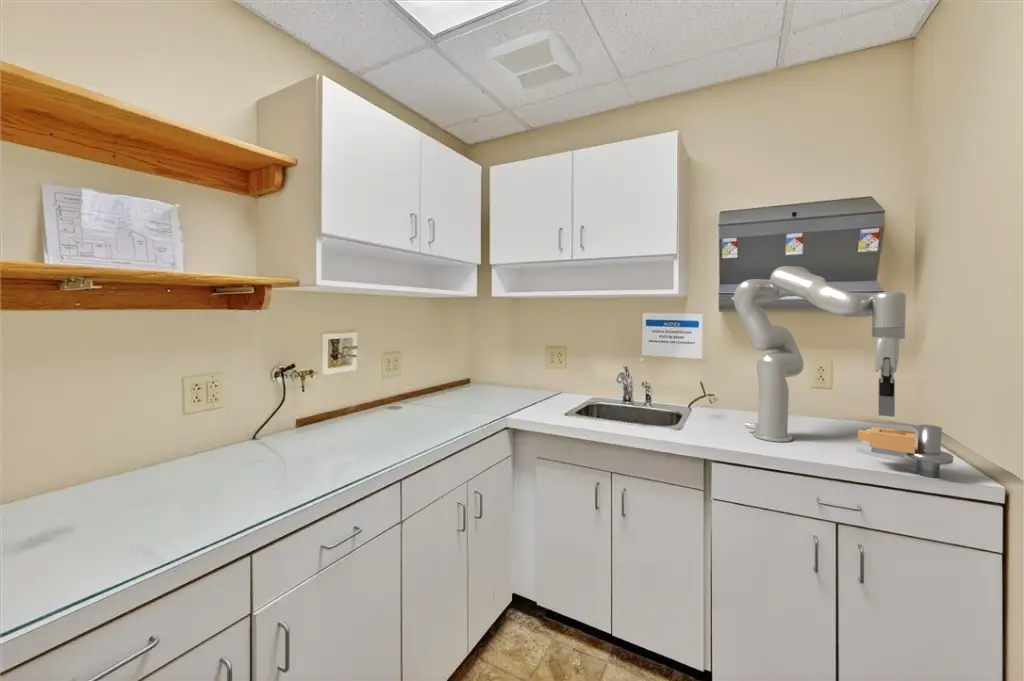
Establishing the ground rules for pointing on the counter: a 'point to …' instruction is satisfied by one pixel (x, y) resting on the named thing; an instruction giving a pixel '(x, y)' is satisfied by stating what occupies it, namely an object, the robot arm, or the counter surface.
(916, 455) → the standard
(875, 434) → the bracket
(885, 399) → the grey rectangular bar
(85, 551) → the counter surface
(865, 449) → the white curved casing
